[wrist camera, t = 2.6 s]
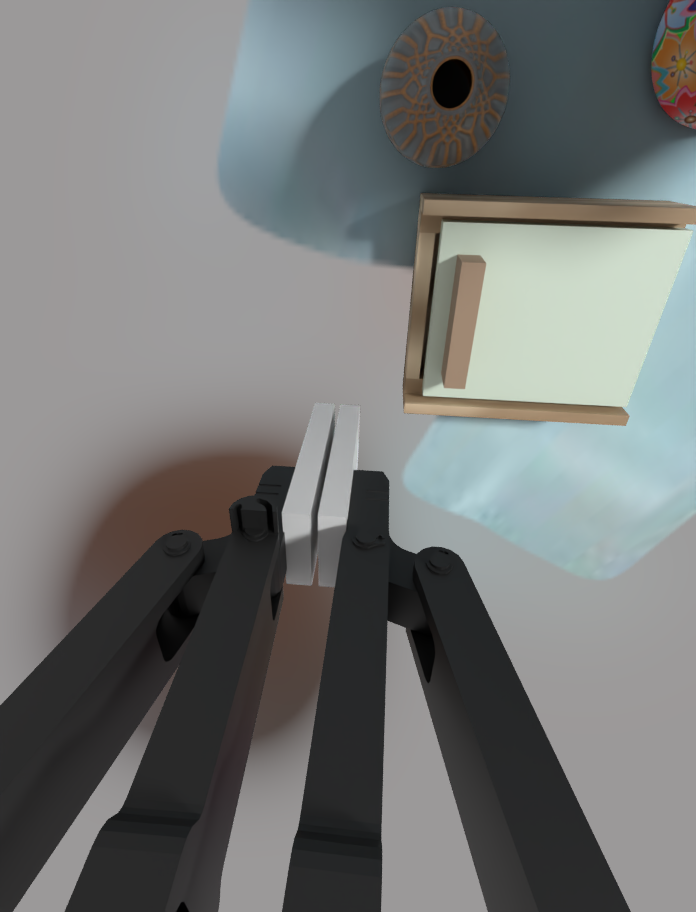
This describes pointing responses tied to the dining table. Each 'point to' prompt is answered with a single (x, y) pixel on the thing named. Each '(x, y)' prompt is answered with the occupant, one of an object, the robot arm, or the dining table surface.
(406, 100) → the vase
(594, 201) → the box
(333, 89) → the dining table surface
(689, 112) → the mug
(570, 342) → the lid
